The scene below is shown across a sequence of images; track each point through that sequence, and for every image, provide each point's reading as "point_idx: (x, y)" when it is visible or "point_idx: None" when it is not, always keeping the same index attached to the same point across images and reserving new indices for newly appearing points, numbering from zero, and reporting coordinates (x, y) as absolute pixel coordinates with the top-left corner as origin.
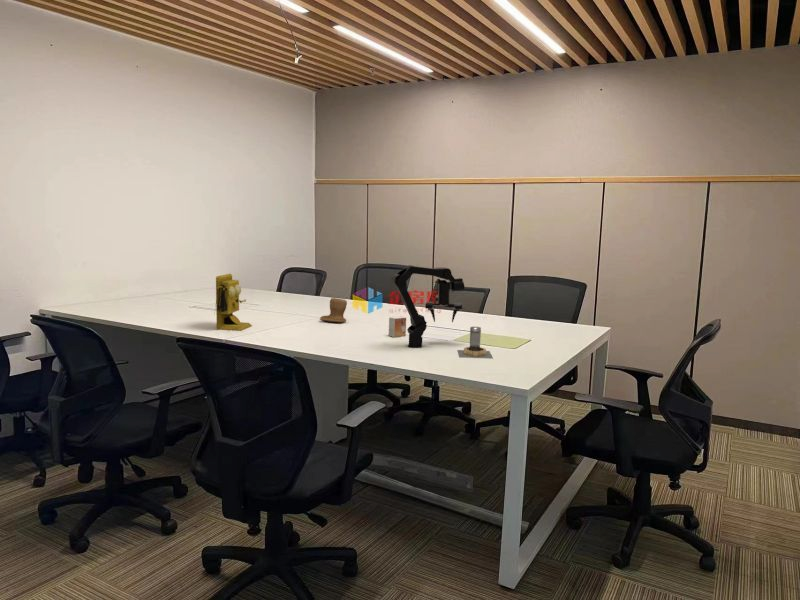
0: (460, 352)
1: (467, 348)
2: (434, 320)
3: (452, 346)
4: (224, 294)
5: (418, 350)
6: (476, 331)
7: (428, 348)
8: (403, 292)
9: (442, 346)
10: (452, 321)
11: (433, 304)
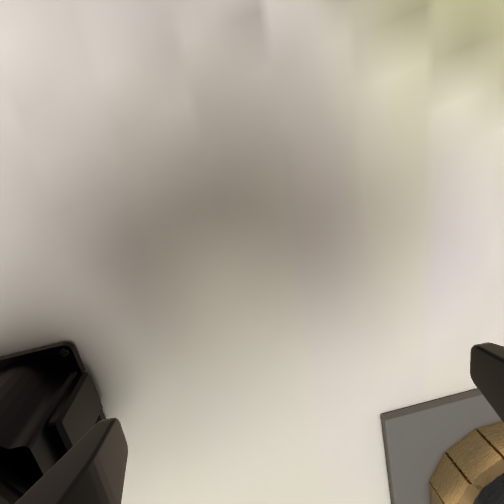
0: (408, 475)
1: (472, 495)
2: (114, 492)
3: (337, 282)
4: None
5: None
6: None
7: (169, 419)
8: None
9: (258, 314)
10: (491, 394)
11: None
